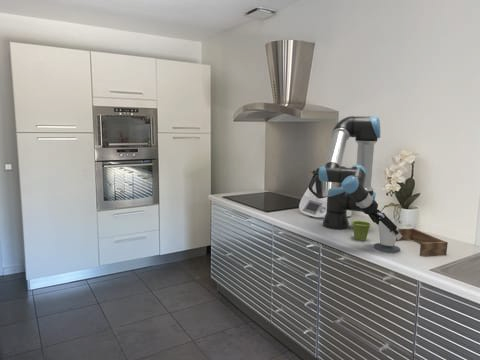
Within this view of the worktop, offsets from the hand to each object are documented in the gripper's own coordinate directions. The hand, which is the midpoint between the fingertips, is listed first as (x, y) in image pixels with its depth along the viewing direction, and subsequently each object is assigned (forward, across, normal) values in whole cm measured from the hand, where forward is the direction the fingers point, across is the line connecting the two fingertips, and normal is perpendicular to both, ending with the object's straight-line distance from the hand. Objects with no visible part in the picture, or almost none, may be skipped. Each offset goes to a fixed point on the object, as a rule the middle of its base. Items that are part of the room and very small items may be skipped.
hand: (393, 234), depth 171 cm
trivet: (+2, 0, -7) cm, 7 cm away
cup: (+1, 0, -6) cm, 6 cm away
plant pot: (-1, -15, -11) cm, 19 cm away
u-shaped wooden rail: (+14, 0, +5) cm, 15 cm away
